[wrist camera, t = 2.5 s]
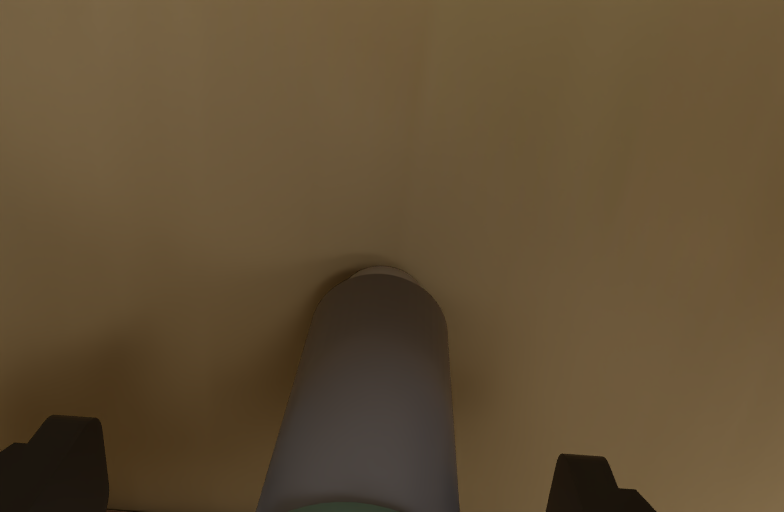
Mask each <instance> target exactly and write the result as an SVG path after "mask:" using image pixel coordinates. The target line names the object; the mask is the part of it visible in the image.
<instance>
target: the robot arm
mask: <svg viewBox="0 0 784 512" xmlns="http://www.w3.org/2000/svg"><path fill="white" fill-rule="evenodd" d="M108 497H109V482H108V474H107V465H106V457H105V449H104V440H103V432H102V426H101V422H100V421H99V419H97V418H91V417H77V416H64V415H52V416H50V417H48V418H47V419H46V420H45V422H44V423H43V424H42V425H41V427H40V428H39V429H38V431H37V432H36V433H35V435H34V436H33V437H32V438H31V440H30V441H29V442H28V444H25V443H13V444H12V445H10V446H9V447H7V448H6V449H4V450H3V451H1V452H0V512H106V508H107V503H108ZM546 512H656V511H655V510H654V509H653V508H652V506H651V505H650V504H649V503H648V502H647V501H646V500H645V499H644V498H643V497H642V496H641V495H640V494H639V493H638V492H637V491H636V490H634V489H620V488H618V486H617V484H616V481H615V478H614V476H613V473H612V471H611V468H610V466H609V463H608V461H607V460H606V458H604V457H601V456H588V455H574V454H560V455H559V457H558V460H557V463H556V467H555V472H554V476H553V481H552V485H551V490H550V494H549V499H548V504H547V508H546Z"/></svg>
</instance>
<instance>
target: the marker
mask: <svg viewBox="0 0 784 512" xmlns="http://www.w3.org/2000/svg"><path fill="white" fill-rule="evenodd" d="M256 512H460V509H459V494H458V480H457V465H456V450H455V435H454V421H453V406H452V391H451V377H450V362H449V347H448V332H447V324H446V321H445V317H444V315H443V313H442V310H441V308H440V307H439V305H438V304H437V302H436V301H435V300H434V299H433V297H432V296H431V295H430V294H429V293H428V292H427V291H425V290H424V289H423V288H421V286H420V285H419V283H418V282H417V281H416V280H415V279H414V278H413V277H412V276H410V275H409V274H407V273H406V272H404V271H402V270H399V269H397V268H393V267H387V266H375V267H369V268H366V269H363V270H361V271H359V272H357V273H355V274H354V275H352V276H351V277H350V278H349V279H348V280H346V281H344V282H342V283H340V284H338V285H337V286H335V287H334V288H332V289H331V290H330V291H329V292H328V293H327V294H326V295H325V296H324V297H323V299H322V300H321V301H320V303H319V304H318V306H317V308H316V310H315V313H314V315H313V318H312V322H311V325H310V329H309V332H308V335H307V339H306V342H305V346H304V349H303V353H302V356H301V359H300V363H299V366H298V370H297V373H296V376H295V380H294V383H293V387H292V390H291V393H290V397H289V400H288V404H287V407H286V410H285V414H284V417H283V421H282V424H281V427H280V431H279V434H278V438H277V441H276V444H275V448H274V451H273V455H272V458H271V462H270V465H269V468H268V472H267V475H266V479H265V482H264V485H263V489H262V492H261V496H260V499H259V502H258V506H257V509H256Z"/></svg>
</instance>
